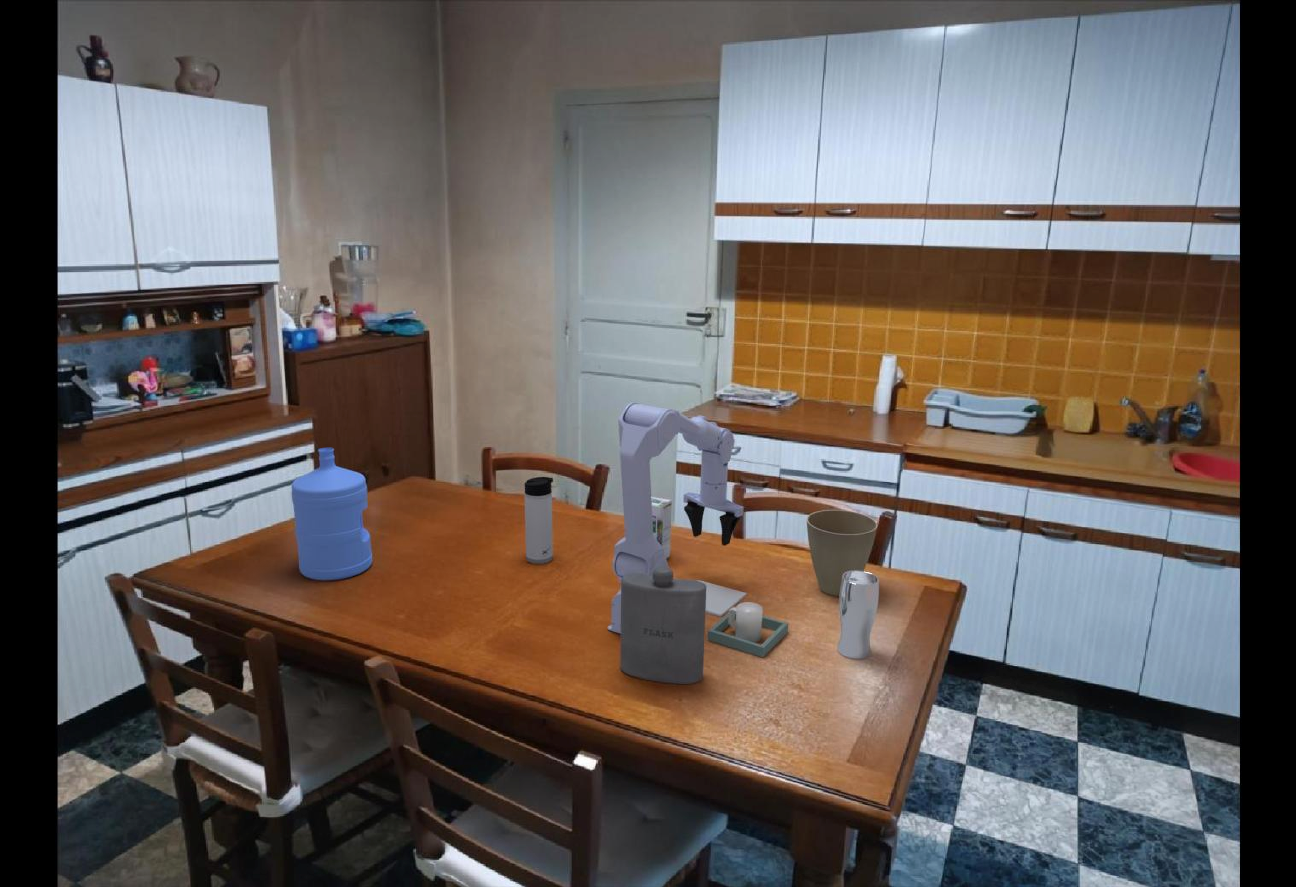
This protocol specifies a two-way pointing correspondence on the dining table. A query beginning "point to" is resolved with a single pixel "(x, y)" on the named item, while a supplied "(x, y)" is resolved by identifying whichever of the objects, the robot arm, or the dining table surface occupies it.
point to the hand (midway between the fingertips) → (711, 539)
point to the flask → (662, 627)
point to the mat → (721, 599)
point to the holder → (745, 645)
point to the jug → (747, 621)
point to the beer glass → (857, 612)
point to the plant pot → (839, 545)
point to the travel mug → (538, 520)
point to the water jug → (331, 521)
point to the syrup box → (662, 522)
